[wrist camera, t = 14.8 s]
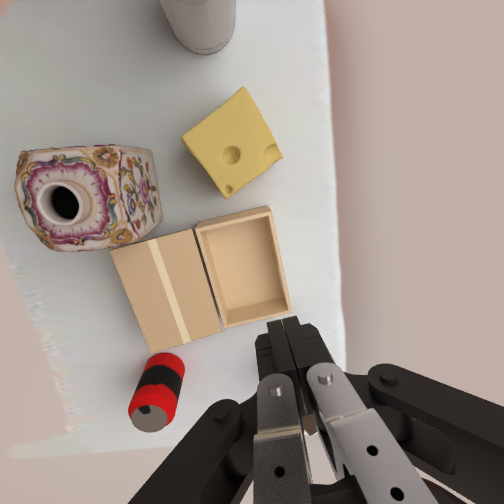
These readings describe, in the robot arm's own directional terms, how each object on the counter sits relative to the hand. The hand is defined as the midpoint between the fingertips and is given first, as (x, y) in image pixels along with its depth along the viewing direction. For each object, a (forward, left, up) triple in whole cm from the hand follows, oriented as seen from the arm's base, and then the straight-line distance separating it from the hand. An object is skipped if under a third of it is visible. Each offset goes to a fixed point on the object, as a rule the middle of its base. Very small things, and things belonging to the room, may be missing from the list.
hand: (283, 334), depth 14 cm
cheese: (-10, 0, -37) cm, 39 cm away
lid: (+9, -15, -30) cm, 35 cm away
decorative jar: (-8, -19, -37) cm, 43 cm away
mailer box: (+9, -2, -37) cm, 38 cm away
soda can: (+27, -23, -37) cm, 51 cm away
